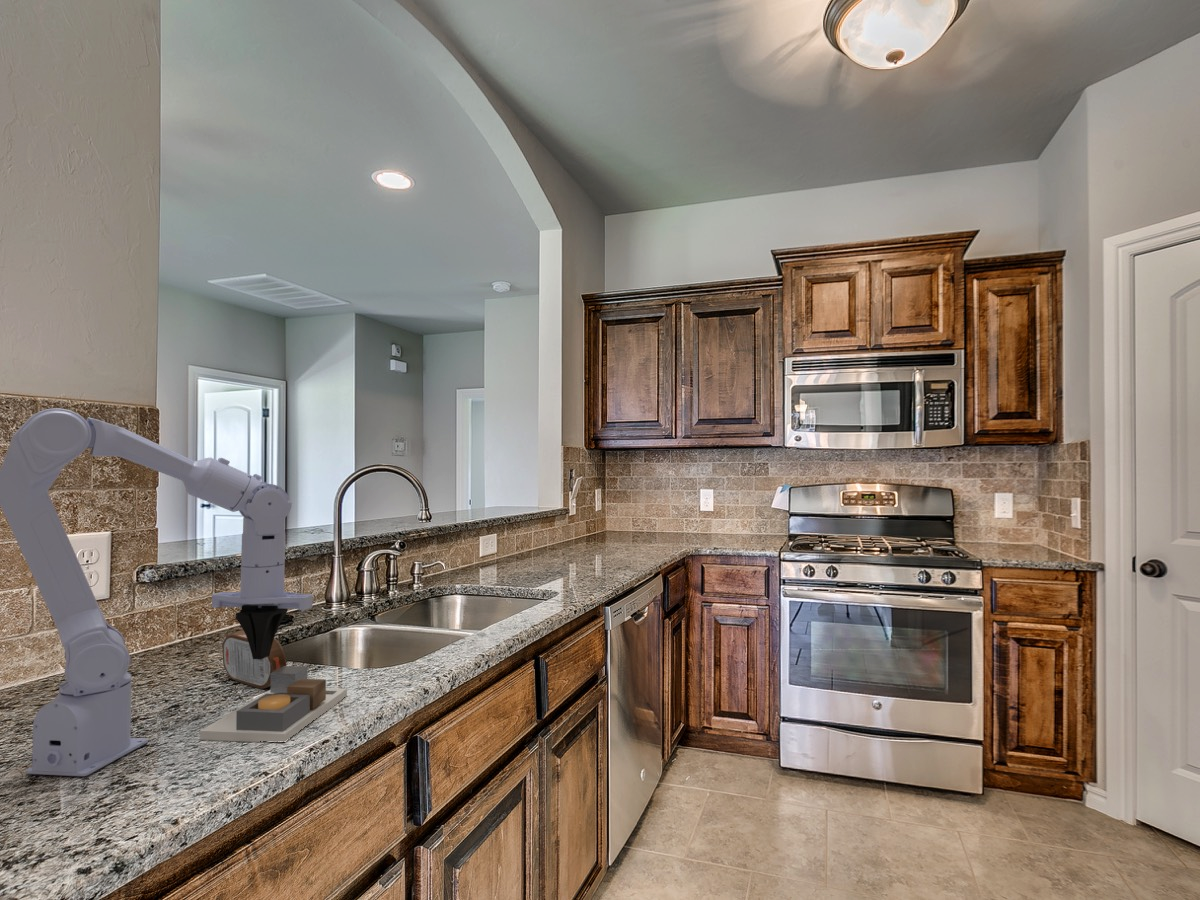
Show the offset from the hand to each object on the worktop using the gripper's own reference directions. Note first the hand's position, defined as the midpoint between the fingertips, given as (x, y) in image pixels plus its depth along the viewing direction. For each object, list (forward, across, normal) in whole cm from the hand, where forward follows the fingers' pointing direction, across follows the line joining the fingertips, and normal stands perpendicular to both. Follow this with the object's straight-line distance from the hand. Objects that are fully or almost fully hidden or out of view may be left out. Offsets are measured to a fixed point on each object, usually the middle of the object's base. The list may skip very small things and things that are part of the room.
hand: (261, 657), depth 93 cm
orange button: (+7, -5, +4) cm, 9 cm away
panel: (+9, -3, -1) cm, 9 cm away
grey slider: (+7, 0, -7) cm, 10 cm away
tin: (+9, +10, -14) cm, 19 cm away
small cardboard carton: (+7, -6, -2) cm, 10 cm away
